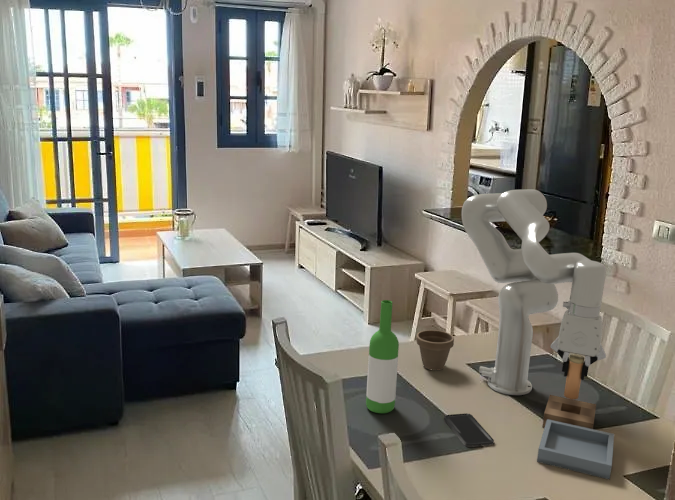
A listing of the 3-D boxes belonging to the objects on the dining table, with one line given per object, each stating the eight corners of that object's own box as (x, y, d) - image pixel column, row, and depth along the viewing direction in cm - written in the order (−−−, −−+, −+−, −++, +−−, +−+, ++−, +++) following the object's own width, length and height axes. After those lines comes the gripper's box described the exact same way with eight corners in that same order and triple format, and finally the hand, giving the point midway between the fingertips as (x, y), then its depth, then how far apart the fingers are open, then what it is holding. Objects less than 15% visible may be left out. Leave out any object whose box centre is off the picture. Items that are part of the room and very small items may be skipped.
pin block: (542, 427, 178) (544, 413, 177) (548, 408, 189) (549, 394, 188) (591, 438, 173) (593, 423, 172) (594, 418, 184) (596, 404, 183)
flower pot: (406, 363, 214) (408, 333, 212) (432, 356, 221) (435, 326, 218) (432, 377, 205) (435, 345, 203) (459, 369, 212) (462, 338, 209)
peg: (563, 397, 179) (569, 358, 176) (564, 391, 182) (570, 353, 179) (577, 400, 177) (583, 361, 175) (578, 394, 181) (584, 356, 178)
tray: (536, 461, 161) (538, 448, 161) (545, 431, 176) (547, 419, 175) (609, 479, 155) (611, 465, 155) (612, 446, 170) (614, 433, 169)
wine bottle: (373, 398, 189) (379, 295, 182) (399, 406, 186) (406, 300, 179) (360, 410, 183) (366, 302, 175) (387, 417, 179) (394, 308, 172)
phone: (470, 413, 182) (495, 441, 168) (469, 417, 183) (495, 445, 168) (442, 415, 180) (465, 444, 166) (441, 419, 181) (465, 448, 167)
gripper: (548, 308, 173) (539, 375, 178) (618, 320, 167) (607, 389, 172) (552, 299, 180) (543, 364, 185) (619, 311, 174) (608, 377, 178)
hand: (574, 375), depth 178 cm, fingers closed on peg, 3 cm apart
